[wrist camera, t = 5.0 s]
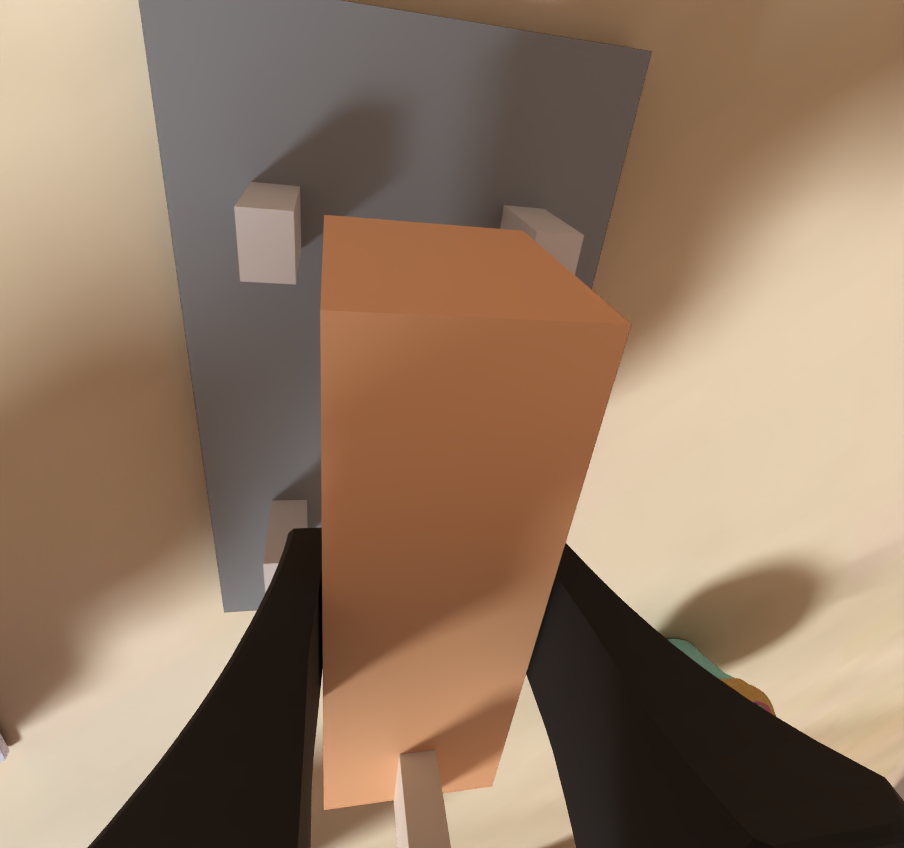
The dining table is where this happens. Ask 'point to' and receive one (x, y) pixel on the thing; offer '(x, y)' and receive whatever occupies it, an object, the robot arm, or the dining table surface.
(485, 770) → the long tan brick
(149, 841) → the robot arm
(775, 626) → the dining table surface
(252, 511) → the grey pegged plate
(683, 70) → the dining table surface
